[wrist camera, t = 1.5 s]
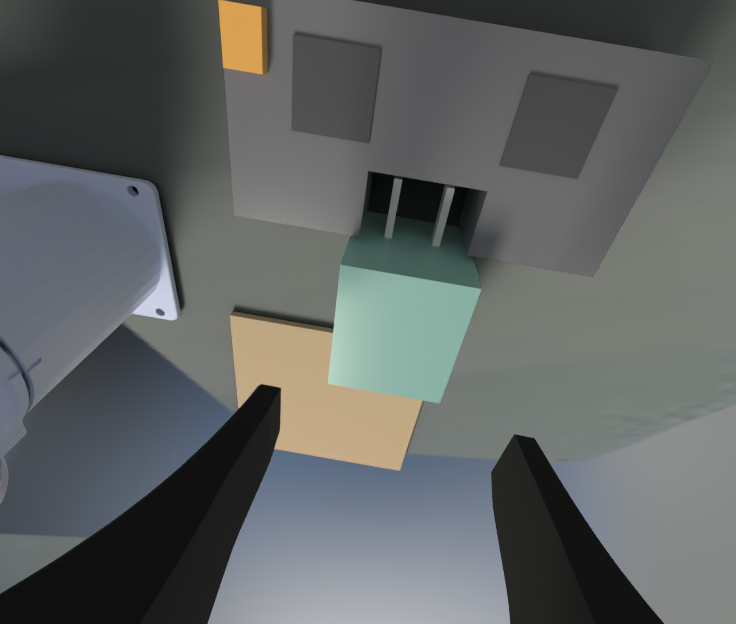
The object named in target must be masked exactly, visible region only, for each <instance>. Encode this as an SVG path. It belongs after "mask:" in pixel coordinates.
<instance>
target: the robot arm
mask: <svg viewBox="0 0 736 624" xmlns="http://www.w3.org/2000/svg"><path fill="white" fill-rule="evenodd" d="M132 186H134V187H135V188H136V189H137V190H138V192H139V193H136V192H135V191H134V190H133V188H132ZM160 309H162V310H163V311H164V312H163V311H162V310H160ZM131 314H138V315H144V316H149V317H155V318H161V319H167V320H176V319H177V318H178V317H179V315H180V307H179V301H178V296H177V291H176V285H175V280H174V274H173V269H172V264H171V258H170V253H169V248H168V242H167V237H166V232H165V226H164V221H163V216H162V210H161V205H160V199H159V194H158V191H157V188H156V187H155V185H154V184H152V183H151V182H150V181H147V180H143V179H137V178H131V177H125V176H119V175H114V174H108V173H102V172H96V171H90V170H84V169H79V168H73V167H67V166H61V165H55V164H49V163H44V162H38V161H32V160H26V159H20V158H15V157H9V156H3V155H0V504H1V502H2V500H3V497H4V494H5V491H6V489H7V483H8V470H7V465H6V462H5V460H4V458H3V456H4V455H5V454H6V453H7V452H8V451H9V450H10V449H11V448H12V447H13V446H14V445H15V444H16V443H17V442H18V441H19V440H20V439H21V438H22V437H23V436H24V435H25V434H26V433H27V432H26V430H25V428H24V426H23V423H22V418H23V416H24V414H26V413H27V412H28V411H29V410H30V409H31V408H32V407H33V406H34V405H35V404H37V403H38V402H39V401H40V400H41V399H42V398H43V397H44V396H45V395H46V394H47V393H48V392H49V391H50V390H51V389H52V388H53V387H54V386H55V385H57V384H58V383H59V382H60V381H61V380H62V379H63V378H64V377H65V376H66V375H67V374H68V373H69V372H70V371H71V370H73V369H74V368H75V367H76V366H77V365H78V364H79V363H80V362H81V361H82V360H83V359H84V358H85V357H86V356H87V355H88V354H89V353H90V352H92V351H93V349H95V348H96V347H97V346H98V345H99V344H100V343H101V342H102V341H103V340H104V339H105V338H106V337H107V336H108V335H109V334H110V333H112V332H113V331H114V330H115V329H116V328H117V327H118V326H119V325H120V324H121V323H122V322H123V321H124V320H125V319H126V318H128V317H129V316H130V315H131ZM280 416H281V388H280V387H275V386H270V385H265V384H261V385H259V386H258V387H257V388H256V389H255V390H254V392H253V393H252V394H251V395H250V396H249V398H248V399H247V400H246V401H245V402H244V403H243V405H242V406H241V407H240V408H239V409H238V410H237V411H236V412H235V414H234V415H233V416H232V417H231V418H230V419H229V420H228V421H227V422H226V423H225V424H224V425H223V426H222V427H221V428H220V429H219V430H218V431H217V432H216V434H215V435H214V436H213V437H212V438H211V439H210V440H209V441H208V442H207V443H206V444H204V445H203V446H202V447H201V448H200V449H199V450H198V451H197V452H196V453H195V454H194V455H193V456H192V457H191V458H190V459H188V460H187V461H186V462H185V463H184V464H183V465H182V466H181V467H180V468H179V469H178V470H176V471H175V472H174V473H173V474H172V475H171V476H169V477H168V478H167V479H166V480H165V481H163V482H162V483H161V484H160V485H159V486H157V487H156V488H155V489H154V490H152V491H151V492H150V493H149V494H148V495H146V496H145V497H144V498H142V499H141V500H140V501H139V502H137V503H136V504H135V505H133V506H132V507H131V508H129V509H128V510H127V511H125V512H124V513H123V514H122V515H120V516H119V517H117V518H116V519H115V520H113V521H112V522H111V523H109V524H108V525H106V526H105V527H104V528H102V529H101V530H99V531H98V532H96V533H95V534H93V535H92V536H90V537H89V538H87V539H86V540H84V541H83V542H81V543H80V544H79V545H77V546H76V547H74V548H73V549H71V550H70V551H68V552H67V553H65V554H64V555H62V556H61V557H59V558H58V559H56V560H55V561H53V562H51V563H50V564H48V565H47V566H45V567H43V568H42V569H40V570H39V571H37V572H35V573H34V574H32V575H30V576H29V577H27V578H25V579H24V580H22V581H21V582H19V583H17V584H16V585H14V586H12V587H11V588H9V589H7V590H6V591H4V592H3V593H1V594H0V624H207V623H208V620H209V617H210V614H211V611H212V608H213V605H214V602H215V599H216V596H217V593H218V590H219V587H220V584H221V581H222V578H223V575H224V572H225V569H226V566H227V563H228V561H229V558H230V555H231V552H232V549H233V546H234V544H235V541H236V539H237V536H238V534H239V532H240V529H241V527H242V524H243V522H244V520H245V518H246V516H247V513H248V511H249V509H250V506H251V504H252V502H253V500H254V497H255V495H256V493H257V491H258V488H259V486H260V483H261V481H262V479H263V477H264V474H265V472H266V470H267V467H268V465H269V463H270V460H271V457H272V454H273V451H274V448H275V445H276V441H277V438H278V435H279V432H280ZM491 474H492V475H491V476H492V499H493V510H494V516H495V523H496V529H497V535H498V540H499V547H500V552H501V558H502V565H503V570H504V576H505V582H506V588H507V595H508V602H509V612H510V624H664V623H663V622H662V621H661V619H660V618H659V617H658V616H657V615H656V614H655V612H654V611H653V610H652V609H651V608H650V606H649V605H648V604H647V603H646V601H645V600H644V599H643V598H642V596H641V595H640V594H639V593H638V591H637V590H636V589H635V588H634V586H633V585H632V584H631V583H630V581H629V580H628V579H627V578H626V576H625V575H624V574H623V572H622V571H621V570H620V568H619V567H618V566H617V564H616V563H615V562H614V560H613V559H612V558H611V556H610V555H609V553H608V552H607V551H606V549H605V548H604V546H603V545H602V544H601V542H600V541H599V539H598V538H597V537H596V535H595V534H594V532H593V531H592V529H591V528H590V526H589V525H588V523H587V522H586V521H585V519H584V517H583V516H582V514H581V513H580V511H579V510H578V508H577V507H576V505H575V503H574V502H573V500H572V499H571V497H570V496H569V494H568V492H567V491H566V489H565V488H564V486H563V484H562V483H561V481H560V480H559V478H558V476H557V475H556V473H555V472H554V470H553V468H552V467H551V465H550V463H549V462H548V460H547V458H546V457H545V455H544V453H543V452H542V450H541V448H540V447H539V445H538V443H537V442H536V440H535V439H534V438H530V437H525V436H520V435H515V434H514V436H513V437H512V439H511V441H510V442H509V444H508V446H507V447H506V449H505V451H504V452H503V454H502V455H501V457H500V459H499V460H498V462H497V464H496V465H495V467H494V469H493V470H492V472H491Z"/></svg>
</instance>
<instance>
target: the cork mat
mask: <svg viewBox="0 0 736 624" xmlns="http://www.w3.org/2000/svg"><path fill="white" fill-rule="evenodd" d="M230 322H231V333H232V343H233V354H234V365H235V375H236V386H237V397H238V407H239V408H240V407H241V406H242V405H243V403H244V402H245V401H246V400H247V399H248V398H249V396H250V395H251V394H252V393H253V392H254V390H255V389H256V388H257V387H258V386H259V385H261V384H265V385H270V386H275V387H280V388H281V416H280V432H279V435H278V438H277V441H276V445H275V448H274V449H279V450H285V451H290V452H296V453H302V454H307V455H314V456H319V457H325V458H330V459H336V460H342V461H347V462H353V463H359V464H365V465H370V466H376V467H381V468H388V469H393V470H400V468H401V465H402V462H403V459H404V456H405V453H406V450H407V447H408V444H409V441H410V438H411V435H412V432H413V429H414V426H415V423H416V420H417V417H418V414H419V410H420V407H421V404H422V401H423V400H418V399H412V398H406V397H401V396H395V395H389V394H383V393H378V392H372V391H366V390H360V389H355V388H349V387H343V386H338V385H332V384H328V377H329V367H330V358H331V349H332V339H333V330H334V329H332V328H327V327H321V326H315V325H309V324H304V323H298V322H292V321H286V320H280V319H275V318H269V317H263V316H257V315H252V314H246V313H240V312H234V311H232V313H231V314H230Z"/></svg>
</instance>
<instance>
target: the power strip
mask: <svg viewBox="0 0 736 624" xmlns="http://www.w3.org/2000/svg"><path fill="white" fill-rule="evenodd" d="M218 2H219V16H220V30H221V44H222V58H223V68H224V79H225V93H226V107H227V121H228V135H229V149H230V163H231V177H232V191H233V205H234V216H240V217H246V218H252V219H258V220H264V221H269V222H275V223H281V224H287V225H293V226H298V227H304V228H310V229H316V230H322V231H328V232H333V233H339V234H345V235H351V236H357V237H360V233H361V230H362V227H363V223H364V220H365V216H366V213H367V210H368V206H369V200H370V193H371V186H372V179H373V172H377V173H383V174H389V175H395V176H401V177H407V178H413V179H418V180H424V181H430V182H436V183H442V184H448V185H454V186H459V187H465V188H468V191H467V195H466V198H465V202H464V205H463V209H462V212H461V215H460V219H459V224H460V228H461V232H462V236H463V241H464V245H465V249H466V253H467V256H473V257H479V258H485V259H490V260H496V261H502V262H508V263H514V264H519V265H525V266H531V267H537V268H543V269H548V270H554V271H560V272H566V273H572V274H578V275H583V276H589V277H593V276H594V275H595V273H596V271H597V269H598V268H599V266H600V264H601V262H602V260H603V259H604V257H605V255H606V253H607V251H608V250H609V248H610V246H611V244H612V242H613V241H614V239H615V237H616V235H617V234H618V232H619V230H620V228H621V226H622V225H623V223H624V221H625V219H626V217H627V216H628V214H629V212H630V210H631V208H632V207H633V205H634V203H635V201H636V200H637V198H638V196H639V194H640V192H641V191H642V189H643V187H644V185H645V183H646V182H647V180H648V178H649V176H650V174H651V173H652V171H653V169H654V167H655V166H656V164H657V162H658V160H659V158H660V157H661V155H662V153H663V151H664V149H665V148H666V146H667V144H668V142H669V141H670V139H671V137H672V135H673V133H674V132H675V130H676V128H677V126H678V124H679V123H680V121H681V119H682V117H683V115H684V114H685V112H686V110H687V108H688V107H689V105H690V103H691V101H692V99H693V98H694V96H695V94H696V92H697V90H698V89H699V87H700V85H701V83H702V81H703V80H704V78H705V76H706V74H707V73H708V71H709V69H710V67H711V65H712V64H713V62H714V61H711V60H705V59H699V58H693V57H687V56H681V55H675V54H669V53H664V52H658V51H652V50H646V49H640V48H634V47H628V46H622V45H616V44H610V43H604V42H598V41H592V40H586V39H580V38H574V37H569V36H563V35H557V34H551V33H545V32H539V31H533V30H527V29H521V28H515V27H509V26H503V25H497V24H491V23H485V22H479V21H473V20H468V19H462V18H456V17H450V16H444V15H438V14H432V13H426V12H420V11H414V10H408V9H402V8H396V7H390V6H384V5H378V4H373V3H367V2H361V1H355V0H218Z"/></svg>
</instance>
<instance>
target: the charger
mask: <svg viewBox="0 0 736 624" xmlns="http://www.w3.org/2000/svg"><path fill="white" fill-rule="evenodd" d="M402 179H403V177H401V176H395V178H394V184H393V190H392V196H391V201H390V207H389V213H388V215H385V214H379V213H374V212H368V211H367V213H366V216H365V220H364V223H363V227H362V230H361V233H360V237H357V236H350V239H349V242H348V244H347V247H346V250H345V253H344V256H343V259H342V262H341V265H340V274H339V283H338V293H337V302H336V311H335V321H334V330H333V339H332V349H331V358H330V367H329V377H328V384H332V385H338V386H343V387H349V388H355V389H360V390H366V391H372V392H378V393H383V394H389V395H395V396H401V397H406V398H412V399H418V400H423V401H429V402H435V403H440V401H441V398H442V395H443V393H444V390H445V387H446V385H447V382H448V379H449V376H450V374H451V371H452V368H453V366H454V363H455V360H456V357H457V355H458V352H459V349H460V346H461V344H462V341H463V338H464V336H465V333H466V330H467V327H468V325H469V322H470V319H471V317H472V314H473V311H474V308H475V306H476V303H477V300H478V297H479V295H480V292H481V285H480V281H479V277H478V274H477V270H476V266H475V262H474V259H473V256H467V253H466V249H465V245H464V241H463V236H462V232H461V228H460V227H455V226H449V225H445V224H446V220H447V217H448V213H449V209H450V206H451V202H452V198H453V195H454V191H455V187H454V185H448V184H445V186H444V190H443V194H442V198H441V202H440V206H439V210H438V214H437V218H436V222H435V223H432V222H426V221H420V220H414V219H409V218H403V217H397V216H396V211H397V206H398V201H399V195H400V190H401V185H402Z"/></svg>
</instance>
